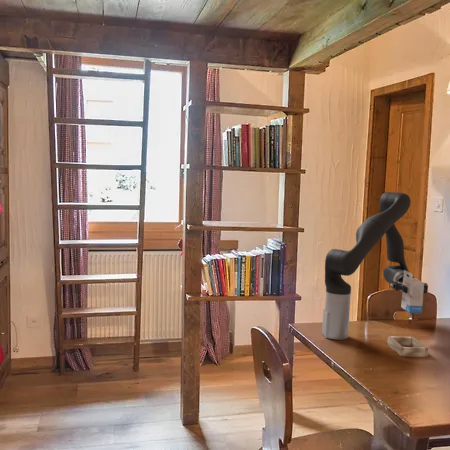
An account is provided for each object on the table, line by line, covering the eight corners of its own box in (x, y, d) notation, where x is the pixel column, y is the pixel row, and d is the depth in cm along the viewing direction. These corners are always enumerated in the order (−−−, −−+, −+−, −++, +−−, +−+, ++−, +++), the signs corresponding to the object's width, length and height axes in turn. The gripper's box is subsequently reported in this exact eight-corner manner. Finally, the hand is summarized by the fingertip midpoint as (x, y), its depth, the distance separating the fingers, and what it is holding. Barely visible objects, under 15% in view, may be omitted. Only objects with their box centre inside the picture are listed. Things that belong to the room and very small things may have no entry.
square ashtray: (400, 356, 174) (401, 347, 173) (387, 344, 186) (387, 336, 186) (427, 356, 174) (428, 348, 174) (412, 344, 186) (413, 336, 186)
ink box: (422, 313, 186) (425, 274, 184) (409, 313, 186) (412, 274, 184) (413, 307, 194) (416, 269, 193) (400, 307, 194) (403, 269, 193)
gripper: (386, 271, 204) (395, 279, 187) (423, 273, 202) (435, 282, 185) (385, 289, 205) (394, 299, 188) (422, 291, 203) (434, 302, 186)
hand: (414, 291), depth 187 cm, fingers closed on ink box, 5 cm apart
